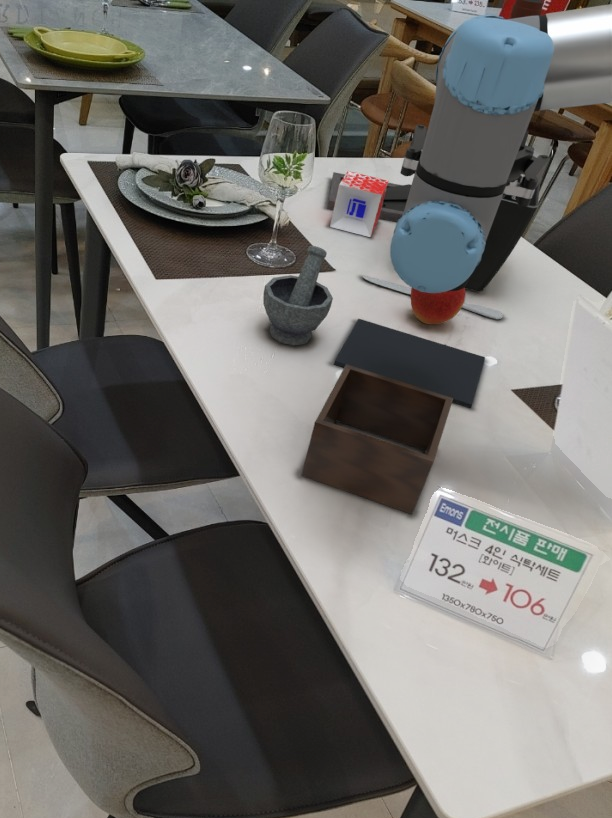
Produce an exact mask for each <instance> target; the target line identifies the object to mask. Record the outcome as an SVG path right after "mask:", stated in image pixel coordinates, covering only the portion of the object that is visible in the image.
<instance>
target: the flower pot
mask: <svg viewBox="0 0 612 818" xmlns="http://www.w3.org/2000/svg"><path fill="white" fill-rule="evenodd" d="M514 181H515V180H513V181H511V182H514ZM540 187H541V182H540V183H539V184H538V186H537V187H536V188H535V191H534V193H533V196H532V198H531V201H530V203H529V206H521V205H519V204H518V203H517V201H516V200H514V199H512V198H511V197H512V195H507V194H506V195H505V197H504V198H502V199H501V201H500V204H499V207H498V210H497V212H496V215H495V218H494V220H493V223H492V226H491V228H490V231H489V234H488V237H487V239H486V242H485V243H486V244H485V250H484V252H483V254H482V258H481V261H480V263H479V264H478V266H476V267H475V269H474V271H473V273H472V274H471V275H470V277H469V280H468V282H467V285H466V286H465V290H471V291H474V292H478V293H479V292H483V291H484V290H485V289H486V288H487V286H488V285H489V284H490V283H491V281H492V280H493V278H494V277H495V276H496V275H497V274H498V272H499V271H500V270H501V268H502V267H503V266H504V264H505V263H506V261H507V260H508V258H509V257H510V255H511V253H512V252H513V251H514V249H515V247H516V246H517V244H518V243H519V241H520V239H521V238H522V236H523V234H524V233H525V231H526V229H527V227H528V226H529V224H530V222H531V221H532V218H533V217H534V215H535V213H536V212H537V209H538V207H539V197H540Z"/></svg>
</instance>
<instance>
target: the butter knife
mask: <svg viewBox="0 0 612 818" xmlns="http://www.w3.org/2000/svg"><path fill="white" fill-rule="evenodd" d="M362 277H363V279H364V280H366V281H368V282H370V283H373V284H376V285H379V286H381V287H385V288H388V289H391V290H394V291H397V292H400V293H404V294H407V295H411V289H412V287H409V286H405V285H401V284H397V283H394V282H390V281H387V280H383V279H379V278H375V277H372V276H369V275H368V276H367V275H362ZM461 309H463V310H467V311H470V312H473V313H475V314H478V315H481V316H484V317H486V318H489V319H494V320H501V319H502V318H503V316H504V315H503V313H502V312H501V311H499V310H497V309H494V308H490V307H486V306H482V305H476V304H473V303H467V302H464V303H463V306H462V308H461Z"/></svg>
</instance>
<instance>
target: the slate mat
mask: <svg viewBox="0 0 612 818" xmlns="http://www.w3.org/2000/svg"><path fill="white" fill-rule="evenodd" d="M485 360H486V357H485V356H482V355H479V354H476V353H473V352H469V351H467V350H462V349H460V348H456V347H453V346H449V345H446V344H444V343H440V342H436V341H434V340H430V339H427V338H423V337H421V336H417V335H414V334H410V333H407V332H404V331H400V330H398V329H394V328H391V327H389V326H385V325H382V324H378V323H374V322H371V321H368V320H365V319H362V318H357V321H356V322H355V324H354V326H353V327H352V329H351V331H350V333H349V335H348V336H347V337H346V340H345V342H344V344H343V345H342V347H341V349H340V350H339V352H338V354H337V355H336V358H335V359H334V362H333V365H335V366H338V367H342V368H344V367H345V365H346V364H347V365H350V366H353V367H356V368H359V369H363V370H366V371H369V372H372V373H375V374H378V375H381V376H385V377H388V378H391V379H394V380H397V381H400V382H403V383H407V384H410V385H413V386H416V387H419V388H422V389H425V390H429V391H432V392H435V393H438V394H441V395H444V396H447V397H451V398H453V401H452V403H454V404H457V405H461V406H464V407H467V408H469V409H471V408H472V406H473V403H474V401H475V396H476V394H477V393H476V392H477V389H478V386H479V382H480V378H481V375H482V371H483V367H484V363H485Z"/></svg>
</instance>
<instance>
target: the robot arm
mask: <svg viewBox="0 0 612 818" xmlns="http://www.w3.org/2000/svg"><path fill="white" fill-rule="evenodd" d="M435 83H436V84H435V85H436V86H435V94H434V103H433V108H432V111H431V115H430V119H429V122H428V126H425V125H424V124H416V125H415V127H414V131H413V134H412V138H411V142H410V145H409V147H407V148H406V150H405V154H404V158H403V161H402V164H401V169H400V172H399V173H400V175H402V176H403V177H412V176H413V178H412V182H411V184H410V185H411V189H410V192H409V196H408V199H407V203H406V206H405V209H404V213H403V215H402V218H400V219H399V220H398V221H397V222H396V224H395V227H394V230H393V235H392V237H391V242H390V249H389V254H390V262H391V264H392V267H393V269H394V271H395V273H396V274H397V276H398V277H399V279H400V280H401V281H402V282H404V283H405V284H406V285H407V286H408V287H409V288H414V289H416V290H419V291H421V292H427V293H441V292H446V291H449V290H452V289H454V288H456V287H458V286H459V285H461V284H462V283H463V282H465V281H466V280H467V279H468V278H469V277H470V275H471V274H472V273H473V271H474V269H475V267H476V266H478V264H479V263H480V261H481V258H482V254H483V252H484V250H485V244H486V243H485V242H486V239H487V237H488V234H489V231H490V228H491V226H492V223H493V220H494V218H495V215H496V212H497V210H498V207H499V204H500V201H501V199H502V198H504V197H505V195H506V194H507V195H512V197H511V198H512V199H514V200H516V201H517V203H518V204H519V205H521V206H529V203H530V201H531V198H532V196H533V193H534V191H535V188H536V187H537V186H538V184H539V183H540V184H541V183H542V179H543V177H544V175H545V173H546V171H547V168H548V165H549V162H550V160H551V157H550V156H549V155H548V154H539V155H538V156H537V157H536V156H534V153H535V148H534V146H530V145H527V144H526V143H527V140H528V136H529V133H530V131H529V130H528V128H529V124H530V122H531V120H532V117H533V114H534V112H539V111H546V110H547V111H548V110H555V109H556V110H557V109H566V108H574V107H583V106H592V105H601V104H611V103H612V3H611V4H610V3H609V4H602V5H596V6H588V7H583V8H576V9H569V10H563V11H562V10H561V11H556V12H549V13H545V14H541V15H538V16H527V17H520V18H514V19H510V18H508V19H506V18H504V17H503V16H498V15H495V14H480V15H475V16H474V17H471V18H468V19H467V20H465V21H464V22H462V23H461V24H460V25H458V26H457V27H456V28H455V29H454V31H452V32H451V34H450V36H449V37H448V38H447V40H446V42H445V44H444V45H443V47H442V49H441V52H440V54H439V55H438V61H437V65H436V67H435ZM513 180H515V181H514V182H511V181H513Z"/></svg>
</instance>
